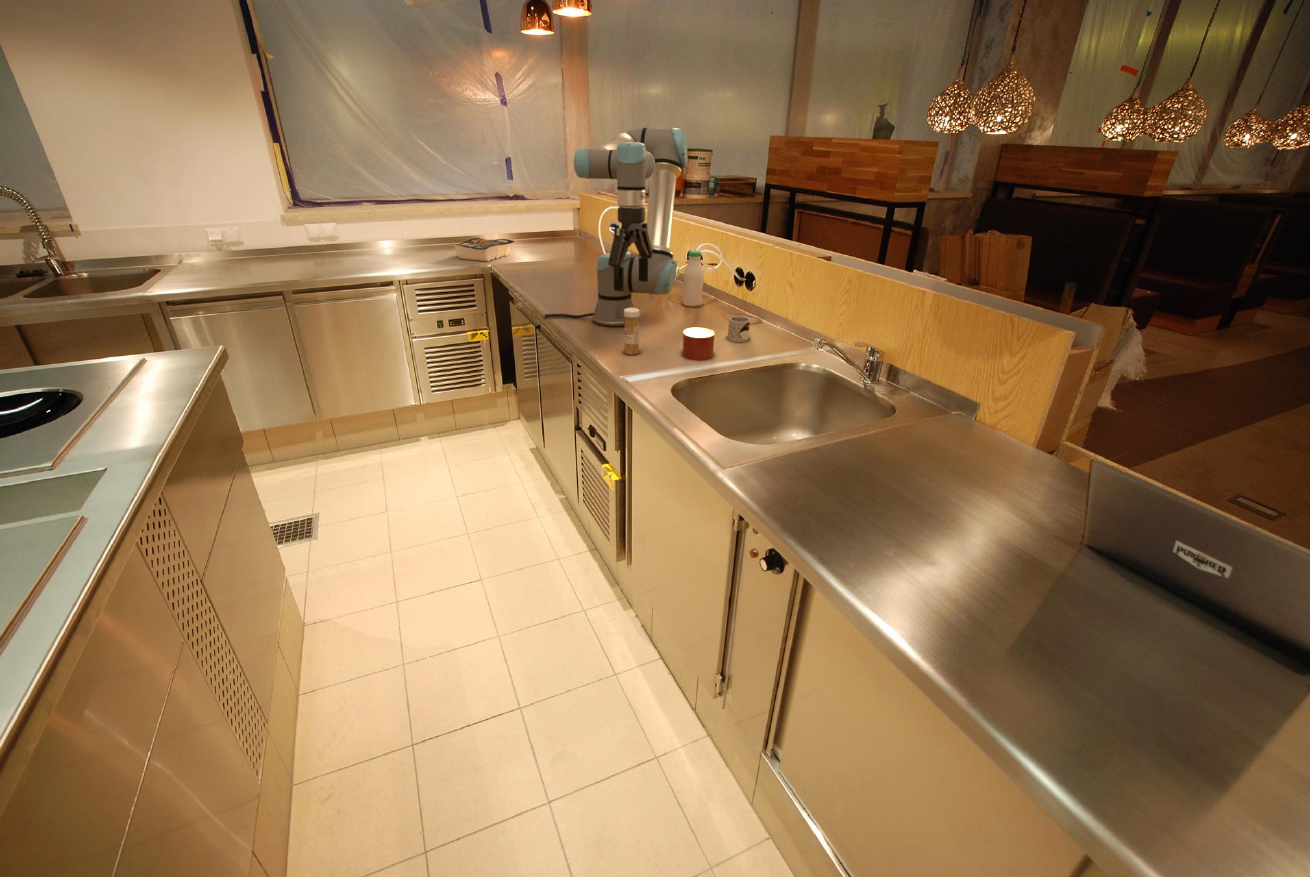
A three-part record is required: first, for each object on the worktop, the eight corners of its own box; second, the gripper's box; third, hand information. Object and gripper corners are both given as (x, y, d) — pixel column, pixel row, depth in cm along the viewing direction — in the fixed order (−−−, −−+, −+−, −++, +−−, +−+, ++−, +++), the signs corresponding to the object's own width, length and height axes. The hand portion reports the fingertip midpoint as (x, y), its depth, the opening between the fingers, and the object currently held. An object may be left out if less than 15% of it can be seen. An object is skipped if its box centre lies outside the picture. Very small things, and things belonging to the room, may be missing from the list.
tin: (677, 356, 172) (677, 334, 169) (690, 347, 180) (691, 325, 176) (705, 362, 168) (706, 339, 165) (718, 352, 176) (719, 330, 172)
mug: (742, 343, 184) (744, 323, 180) (724, 339, 187) (725, 319, 183) (755, 335, 191) (757, 315, 188) (737, 331, 194) (738, 312, 191)
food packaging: (478, 236, 306) (514, 239, 299) (480, 251, 310) (516, 254, 303) (447, 244, 286) (486, 247, 279) (450, 259, 289) (487, 263, 282)
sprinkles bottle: (621, 352, 174) (620, 309, 168) (631, 349, 177) (631, 306, 171) (632, 356, 172) (632, 312, 165) (642, 352, 175) (642, 309, 168)
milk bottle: (700, 307, 220) (703, 253, 210) (681, 306, 221) (683, 252, 211) (703, 302, 226) (706, 250, 217) (684, 301, 227) (686, 249, 218)
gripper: (618, 212, 143) (619, 296, 153) (665, 203, 163) (663, 279, 173) (593, 210, 147) (596, 292, 157) (642, 201, 166) (642, 276, 176)
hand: (631, 285), depth 165 cm, fingers open, 13 cm apart
